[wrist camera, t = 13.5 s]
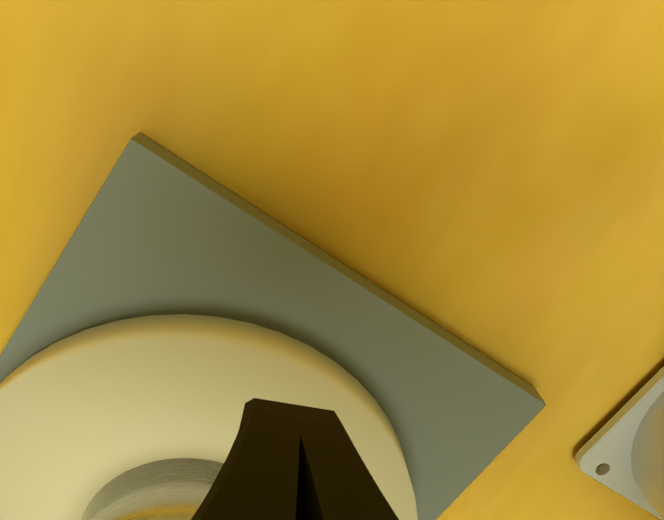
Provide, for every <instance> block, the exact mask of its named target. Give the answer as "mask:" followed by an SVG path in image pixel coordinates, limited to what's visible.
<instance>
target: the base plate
mask: <svg viewBox="0 0 664 520" xmlns="http://www.w3.org/2000/svg"><path fill="white" fill-rule="evenodd" d="M172 314H190V315H203V316H217V317H222V318H228V319H233V320H238V321H243V322H248V323H252V324H255V325H259V326H262V327H265V328H268V329H271V330H274V331H277V332H281V333H283V334H285V335H287V336H289V337H292V338H294V339H296V340H298V341H300V342H303V343H305V344H307V345H309V346H311V347H312V348H314V349H316V350H317V351H319V352H321V353H322V354H324V355H325V356H327V357H329V358H330V359H332V360H334V361H335V362H336V363H337V364H339V365H340V366H341V367H342V368H344V369H345V370H346V371H347V372H349V373H350V374H351V375H352V376H353V377H355V378H356V379H357V380H358V381H359V382H360V383H361V384H362V386H363V387H364V388H365V389H366V390H367V391H368V392H369V393H370V394H371V395H372V396H373V397H374V398H375V400H376V401H377V403H378V404H379V406H380V407H381V409H382V410H383V412H384V413H385V415H386V416H387V417H388V419H389V421H390V423H391V425H392V427H393V429H394V431H395V433H396V435H397V437H398V440H399V442H400V445H401V449H402V452H403V456H404V459H405V462H406V466H407V470H408V473H409V477H410V481H411V484H412V488H413V491H414V495H415V500H416V509H417V518H418V520H436V519H437V518H438V517H439V516H440V515H441V514H442V513H443V512H444V511H445V510H446V509H447V508H448V507H449V506H450V505H451V504H452V503H453V501H454V500H455V499H456V498H457V497H458V496H459V495H460V494H461V493H462V492H463V491H464V490H465V489H466V488H467V487H468V486H469V485H470V484H471V483H472V482H473V481H474V480H475V479H476V478H477V476H478V475H479V474H480V473H481V472H482V471H483V470H484V469H485V468H486V467H487V466H488V465H489V464H490V463H491V462H492V461H493V460H494V459H495V458H496V457H497V456H498V455H499V454H500V452H501V451H502V450H503V449H504V448H505V447H506V446H507V445H508V444H509V443H510V442H511V441H512V440H513V439H514V438H515V437H516V436H517V435H518V434H519V433H520V432H521V431H522V430H523V429H524V427H525V426H526V425H527V424H528V423H529V422H530V421H531V420H532V419H533V418H534V417H535V416H536V415H537V414H538V413H539V412H540V411H541V410H542V409H543V408H544V407H545V406H546V404H545V402H544V401H543V399H542V398H541V396H540V395H539V393H538V392H537V390H536V389H535V388H534V387H533V386H532V385H530V384H528V383H527V382H525V381H524V380H522V379H521V378H519V377H518V376H516V375H515V374H513V373H511V372H510V371H508V370H507V369H505V368H504V367H502V366H501V365H499V364H498V363H496V362H494V361H493V360H491V359H490V358H488V357H487V356H485V355H484V354H482V353H481V352H479V351H477V350H476V349H474V348H473V347H471V346H470V345H468V344H467V343H465V342H463V341H462V340H460V339H459V338H457V337H456V336H454V335H453V334H451V333H450V332H448V331H446V330H445V329H443V328H442V327H440V326H439V325H437V324H436V323H434V322H433V321H431V320H429V319H428V318H426V317H425V316H423V315H422V314H420V313H419V312H417V311H416V310H414V309H412V308H411V307H409V306H408V305H406V304H405V303H403V302H402V301H400V300H399V299H397V298H395V297H394V296H392V295H391V294H389V293H388V292H386V291H385V290H383V289H382V288H380V287H378V286H377V285H375V284H374V283H372V282H371V281H369V280H368V279H366V278H364V277H363V276H361V275H360V274H358V273H357V272H355V271H354V270H352V269H351V268H349V267H347V266H346V265H344V264H343V263H341V262H340V261H338V260H337V259H335V258H334V257H332V256H330V255H329V254H327V253H326V252H324V251H323V250H321V249H320V248H318V247H317V246H315V245H313V244H312V243H310V242H309V241H307V240H306V239H304V238H303V237H301V236H300V235H298V234H296V233H295V232H293V231H292V230H290V229H289V228H287V227H286V226H284V225H283V224H281V223H279V222H278V221H276V220H275V219H273V218H272V217H270V216H269V215H267V214H266V213H264V212H262V211H261V210H259V209H258V208H256V207H255V206H253V205H252V204H250V203H248V202H247V201H245V200H244V199H242V198H241V197H239V196H238V195H236V194H235V193H233V192H231V191H230V190H228V189H227V188H225V187H224V186H222V185H221V184H219V183H218V182H216V181H214V180H213V179H211V178H210V177H208V176H207V175H205V174H204V173H202V172H201V171H199V170H197V169H196V168H194V167H193V166H191V165H190V164H188V163H187V162H185V161H184V160H182V159H180V158H179V157H177V156H176V155H174V154H173V153H171V152H170V151H168V150H167V149H165V148H163V147H162V146H160V145H159V144H157V143H156V142H154V141H153V140H151V139H149V138H148V137H146V136H145V135H143V134H142V133H140V132H139V133H138V134H137V135H136V136H134V137H133V138H132V139H131V140H130V141H129V143H128V145H127V146H126V148H125V150H124V151H123V153H122V155H121V156H120V158H119V160H118V161H117V163H116V165H115V166H114V168H113V170H112V171H111V173H110V175H109V176H108V178H107V180H106V181H105V183H104V185H103V186H102V188H101V190H100V191H99V193H98V195H97V196H96V198H95V200H94V201H93V203H92V204H91V206H90V208H89V209H88V211H87V213H86V214H85V216H84V218H83V219H82V221H81V223H80V224H79V226H78V228H77V229H76V231H75V233H74V234H73V236H72V238H71V239H70V241H69V243H68V244H67V246H66V248H65V249H64V251H63V253H62V254H61V256H60V258H59V259H58V261H57V263H56V264H55V266H54V268H53V269H52V271H51V272H50V274H49V276H48V277H47V279H46V281H45V282H44V284H43V286H42V287H41V289H40V291H39V292H38V294H37V296H36V297H35V299H34V301H33V302H32V304H31V306H30V307H29V309H28V311H27V312H26V314H25V316H24V317H23V319H22V321H21V322H20V324H19V326H18V327H17V329H16V331H15V332H14V334H13V336H12V337H11V339H10V341H9V342H8V344H7V345H6V347H5V349H4V350H3V352H2V354H1V355H0V383H1V382H2V381H3V380H4V379H5V378H6V377H7V376H8V375H9V374H10V373H12V372H13V371H14V370H15V369H17V368H18V367H19V366H20V365H21V364H23V363H24V362H25V361H26V360H28V359H29V358H30V357H32V356H34V355H35V354H37V353H39V352H40V351H42V350H44V349H45V348H47V347H49V346H50V345H52V344H54V343H55V342H58V341H60V340H62V339H65V338H67V337H69V336H72V335H74V334H76V333H79V332H81V331H83V330H86V329H89V328H93V327H96V326H100V325H103V324H107V323H110V322H114V321H118V320H124V319H131V318H137V317H143V316H149V315H172Z"/></svg>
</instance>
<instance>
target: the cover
mask: <svg viewBox="0 0 664 520" xmlns="http://www.w3.org/2000/svg"><path fill="white" fill-rule="evenodd" d="M223 464H224V463H220V462H217V461H212V460H205V459H198V458H175V459H165V460H159V461H154V462H150V463H147V464H143V465H140V466H137V467H135V468H133V469H130V470H128V471H126V472H124V473H122V474H120V475H119V476H117V477H115V478H114V479H112V480H111V481H110V482H108V483H107V484H106V485H104V486H103V487H102V488H101V489H100V490H99V491H98V492H97V493H96V494H95V496H94V497H93V499H92V500H91V501H90V503H89V504H88V506H87V508H86V510H85V512H84V514H83V516H82V519H81V520H191V519H192V517H193V516H194V514H195V513H196V511H197V509H198V508H199V506H200V505H201V503H202V502H203V500H204V498H205V497H206V495H207V493H208V492H209V490H210V488H211V486H212V484H213V482H214V481H215V479H216V477H217V475H218V473H219V471H220V469H221V468H222V466H223Z"/></svg>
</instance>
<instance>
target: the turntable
mask: <svg viewBox="0 0 664 520" xmlns="http://www.w3.org/2000/svg"><path fill="white" fill-rule="evenodd" d="M253 398H258V399H264V400H271V401H277V402H283V403H289V404H295V405H302V406H308V407H314V408H320V409H327V410H333V411H335V413H336V414H337V416H338V418H339V419H340V421H341V423H342V424H343V426H344V428H345V430H346V432H347V433H348V435H349V437H350V439H351V441H352V442H353V444H354V446H355V448H356V449H357V451H358V453H359V455H360V457H361V458H362V460H363V462H364V463H365V465H366V467H367V469H368V470H369V472H370V474H371V475H372V477H373V479H374V480H375V482H376V484H377V485H378V487H379V489H380V490H381V492H382V494H383V495H384V497H385V498H386V500H387V501H388V503H389V505H390V506H391V508H392V509H393V511H394V512H395V514H396V516H397V517H398V519H399V520H418V518H417V509H416V500H415V495H414V491H413V488H412V484H411V481H410V477H409V473H408V470H407V466H406V462H405V459H404V456H403V452H402V449H401V445H400V442H399V440H398V437H397V435H396V433H395V431H394V429H393V427H392V425H391V423H390V421H389V419H388V417H387V416H386V415H385V413H384V412H383V410H382V409H381V407H380V406H379V404H378V403H377V401H376V400H375V398H374V397H373V396H372V395H371V394H370V393H369V392H368V391H367V390H366V389H365V388H364V387H363V386H362V384H361V383H360V382H359V381H358V380H357V379H356V378H355V377H353V376H352V375H351V374H350V373H349V372H347V371H346V370H345V369H344V368H342V367H341V366H340V365H339V364H337V363H336V362H335V361H334V360H332V359H330V358H329V357H327V356H325V355H324V354H322V353H321V352H319V351H317V350H316V349H314V348H312V347H311V346H309V345H307V344H305V343H303V342H300V341H298V340H296V339H294V338H292V337H289V336H287V335H285V334H283V333H281V332H277V331H274V330H271V329H268V328H265V327H262V326H259V325H255V324H252V323H248V322H243V321H238V320H233V319H228V318H222V317H217V316H203V315H190V314H172V315H149V316H143V317H137V318H131V319H124V320H118V321H114V322H110V323H107V324H103V325H100V326H96V327H93V328H89V329H86V330H83V331H81V332H79V333H76V334H74V335H72V336H69V337H67V338H65V339H62V340H60V341H58V342H55V343H54V344H52V345H50V346H49V347H47V348H45V349H44V350H42V351H40V352H39V353H37V354H35V355H34V356H32V357H30V358H29V359H28V360H26V361H25V362H24V363H23V364H21V365H20V366H19V367H18V368H17V369H15V370H14V371H13V372H12V373H10V374H9V375H8V376H7V377H6V378H5V379H4V380H3V381H2V382H1V383H0V520H81V519H82V516H83V514H84V512H85V510H86V508H87V506H88V504H89V503H90V501H91V500H92V499H93V497H94V496H95V494H96V493H97V492H98V491H99V490H100V489H101V488H102V487H103V486H104V485H106V484H107V483H108V482H110V481H111V480H112V479H114V478H115V477H117V476H119V475H120V474H122V473H124V472H126V471H128V470H130V469H133V468H135V467H137V466H140V465H143V464H147V463H150V462H154V461H159V460H165V459H175V458H198V459H205V460H212V461H217V462H220V463H224V462H225V460H226V458H227V456H228V454H229V452H230V450H231V448H232V445H233V443H234V441H235V439H236V436H237V434H238V431H239V428H240V423H241V419H242V414H243V410H244V406H245V403H246V402H248V401H250V400H251V399H253Z"/></svg>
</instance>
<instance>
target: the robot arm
mask: <svg viewBox="0 0 664 520" xmlns="http://www.w3.org/2000/svg"><path fill="white" fill-rule="evenodd" d="M575 462H576V464H577V466H578V467H579V469H580V470H581V471H582V472H584V473H585V474H587V475H588V476H590V477H592V478H593V479H595V480H597V481H598V482H600V483H602V484H603V485H605V486H606V487H608V488H610V489H611V490H613V491H615V492H616V493H618V494H620V495H621V496H623V497H624V498H626V499H628V500H629V501H631V502H633V503H634V504H636V505H638V506H639V507H641V508H642V509H644V510H646V511H647V512H649V513H651V514H652V515H654V516H656V517H657V518H659V519H660V520H664V366H663V367H662V368H661V369H660V370H659V371H658V372H657V373H656V374H655V375H654V376H653V377H652V378H651V379H650V380H649V381H648V382H647V383H646V384H645V385H644V386H643V387H642V388H641V389H640V390H639V391H638V392H637V393H636V394H635V395H634V396H633V397H632V398H631V399H630V400H629V401H628V402H627V403H626V404H625V405H624V406H623V407H622V408H621V409H620V410H619V411H618V412H617V413H616V414H615V415H614V416H613V417H612V418H611V419H610V420H609V421H608V422H607V423H606V424H605V425H604V426H603V427H602V428H601V429H600V430H599V431H598V432H597V433H596V434H595V435H594V436H593V437H592V438H591V439H590V440H589V441H588V442H587V443H586V444H585V445H584V446H583V447H582V448H581V449H580V450H579V451H578V452H577V453H576V455H575ZM600 464H603V465H601V466H600V467H597V466H598V465H600ZM191 520H399V519H398V517H397V516H396V514H395V512H394V511H393V509H392V508H391V506H390V505H389V503H388V501H387V500H386V498H385V497H384V495H383V494H382V492H381V490H380V489H379V487H378V485H377V484H376V482H375V480H374V479H373V477H372V475H371V474H370V472H369V470H368V469H367V467H366V465H365V463H364V462H363V460H362V458H361V457H360V455H359V453H358V451H357V449H356V448H355V446H354V444H353V442H352V441H351V439H350V437H349V435H348V433H347V432H346V430H345V428H344V426H343V424H342V423H341V421H340V419H339V418H338V416H337V414H336V413H335V411H333V410H327V409H320V408H314V407H308V406H302V405H295V404H289V403H283V402H277V401H271V400H264V399H258V398H253V399H251V400H250V401H248V402H246V403H245V406H244V410H243V414H242V419H241V423H240V428H239V431H238V434H237V436H236V439H235V441H234V443H233V445H232V448H231V450H230V452H229V454H228V456H227V458H226V460H225V462H224V464H223V466H222V468H221V469H220V471H219V473H218V475H217V477H216V479H215V481H214V482H213V484H212V486H211V488H210V490H209V492H208V493H207V495H206V497H205V498H204V500H203V502H202V503H201V505H200V506H199V508H198V509H197V511H196V513H195V514H194V516H193V517H192V519H191Z"/></svg>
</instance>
